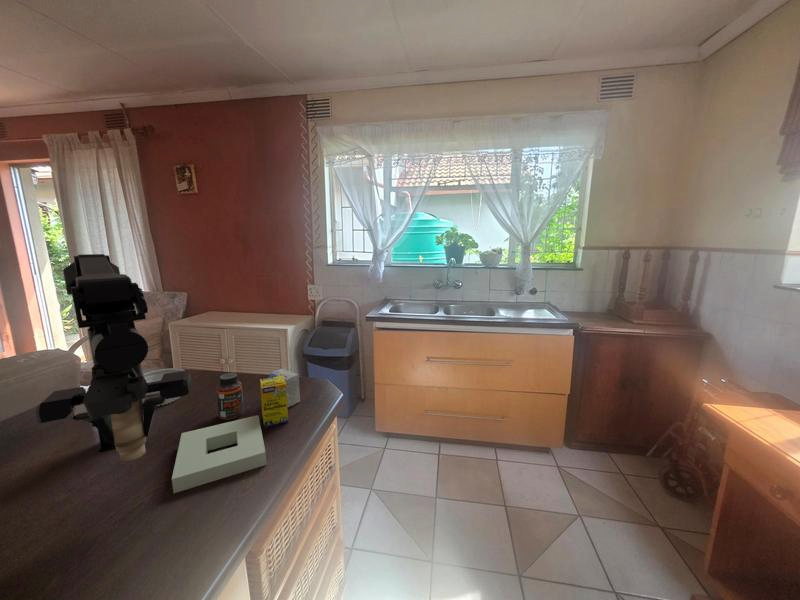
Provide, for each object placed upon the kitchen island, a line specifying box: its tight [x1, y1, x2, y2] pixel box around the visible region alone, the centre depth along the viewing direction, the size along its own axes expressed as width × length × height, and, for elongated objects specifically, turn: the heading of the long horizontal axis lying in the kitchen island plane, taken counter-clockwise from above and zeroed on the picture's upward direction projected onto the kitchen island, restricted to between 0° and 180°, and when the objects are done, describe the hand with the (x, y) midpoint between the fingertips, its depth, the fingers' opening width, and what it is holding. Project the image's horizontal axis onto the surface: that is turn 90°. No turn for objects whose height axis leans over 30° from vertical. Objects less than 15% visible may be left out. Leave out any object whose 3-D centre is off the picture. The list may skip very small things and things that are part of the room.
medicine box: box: [268, 368, 301, 408], centre depth 91 cm, size 8×4×9 cm, turn 58°
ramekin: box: [142, 368, 186, 407], centre depth 92 cm, size 13×13×7 cm
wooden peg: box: [110, 399, 147, 462], centre depth 54 cm, size 4×4×10 cm
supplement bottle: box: [216, 372, 244, 421], centre depth 83 cm, size 6×6×11 cm
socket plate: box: [171, 414, 267, 494], centre depth 68 cm, size 16×16×3 cm
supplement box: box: [259, 376, 289, 429], centre depth 81 cm, size 6×6×11 cm
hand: (130, 439), depth 54 cm, fingers closed on wooden peg, 4 cm apart
